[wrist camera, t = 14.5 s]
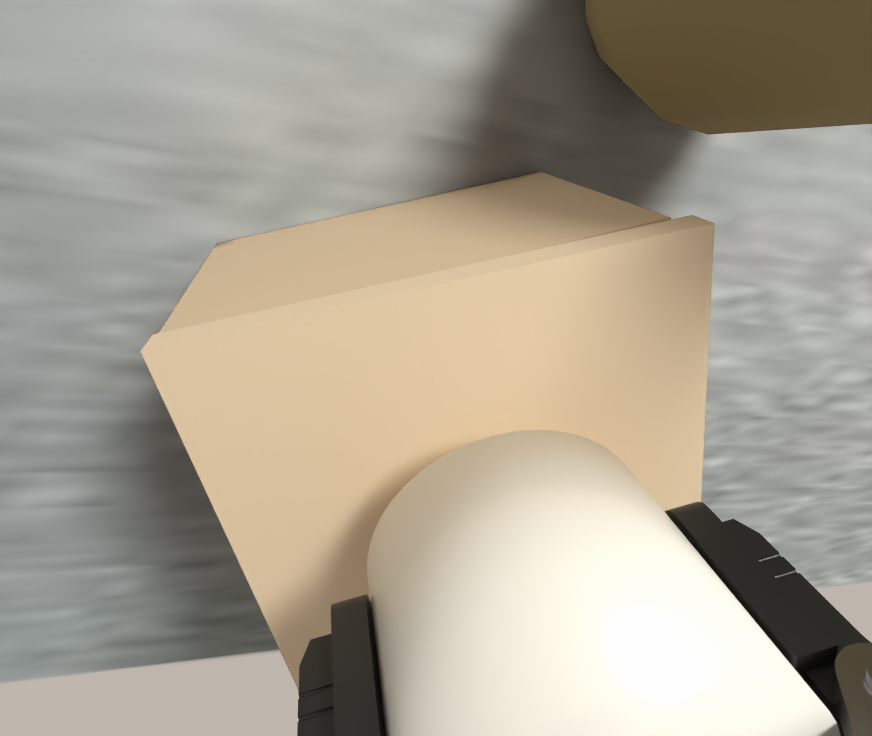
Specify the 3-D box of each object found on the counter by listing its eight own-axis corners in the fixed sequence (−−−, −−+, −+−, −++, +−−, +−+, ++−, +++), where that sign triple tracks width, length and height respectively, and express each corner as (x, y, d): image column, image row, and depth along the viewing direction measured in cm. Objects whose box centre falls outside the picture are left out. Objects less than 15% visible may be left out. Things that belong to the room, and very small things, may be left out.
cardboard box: (317, 521, 24) (318, 702, 17) (216, 243, 18) (155, 338, 11) (566, 454, 25) (665, 599, 18) (541, 171, 19) (670, 217, 12)
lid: (319, 705, 17) (318, 733, 16) (152, 334, 11) (140, 351, 11) (680, 611, 17) (694, 634, 17) (692, 214, 12) (714, 223, 11)
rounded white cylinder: (360, 664, 13) (388, 988, 9) (375, 432, 11) (426, 717, 6) (608, 638, 15) (751, 905, 10) (676, 427, 12) (919, 654, 7)
